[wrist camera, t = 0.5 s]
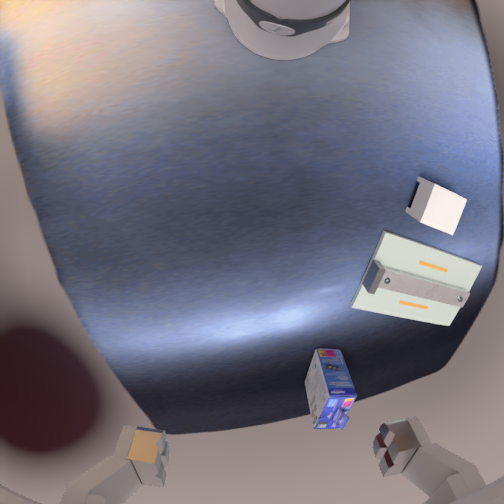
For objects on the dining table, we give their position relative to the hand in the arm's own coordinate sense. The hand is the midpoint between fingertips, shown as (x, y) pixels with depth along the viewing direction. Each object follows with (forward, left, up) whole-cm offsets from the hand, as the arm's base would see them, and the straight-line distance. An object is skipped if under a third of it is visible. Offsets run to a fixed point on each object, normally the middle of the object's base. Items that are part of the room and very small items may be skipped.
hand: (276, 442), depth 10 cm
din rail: (+7, +32, -36) cm, 49 cm away
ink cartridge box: (+29, +21, -38) cm, 52 cm away
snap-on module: (-7, +26, -37) cm, 46 cm away
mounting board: (+7, +32, -37) cm, 50 cm away
